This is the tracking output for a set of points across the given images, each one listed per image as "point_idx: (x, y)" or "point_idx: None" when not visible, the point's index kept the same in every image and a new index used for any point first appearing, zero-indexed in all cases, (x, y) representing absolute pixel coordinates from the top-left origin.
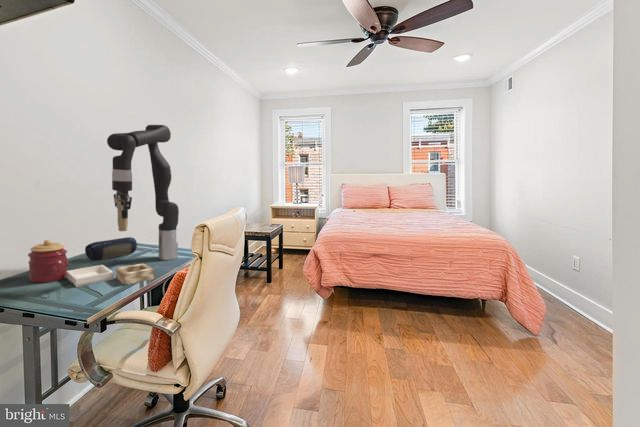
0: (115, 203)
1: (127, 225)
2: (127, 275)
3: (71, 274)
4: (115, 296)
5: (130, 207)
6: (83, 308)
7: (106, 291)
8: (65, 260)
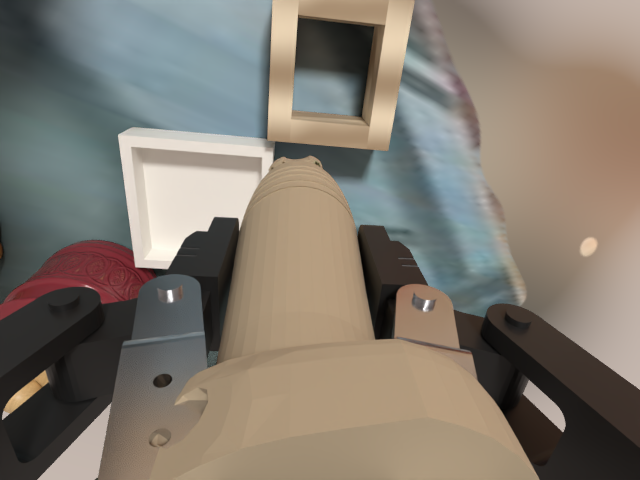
0: (60, 433)
1: (321, 168)
2: (388, 140)
3: None
4: (450, 209)
5: (554, 328)
6: (456, 295)
7: (383, 210)
8: (106, 291)
